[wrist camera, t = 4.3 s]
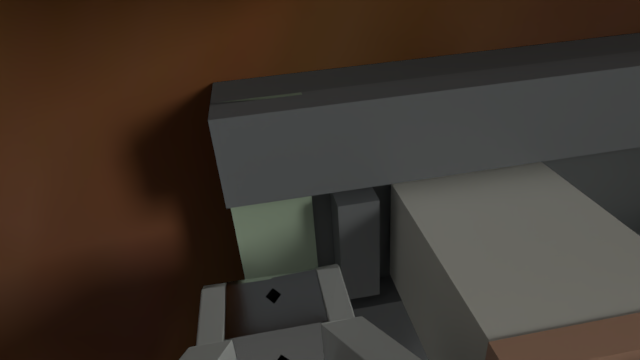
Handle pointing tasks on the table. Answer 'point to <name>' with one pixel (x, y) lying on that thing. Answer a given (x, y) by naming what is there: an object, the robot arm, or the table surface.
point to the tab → (514, 268)
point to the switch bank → (415, 150)
